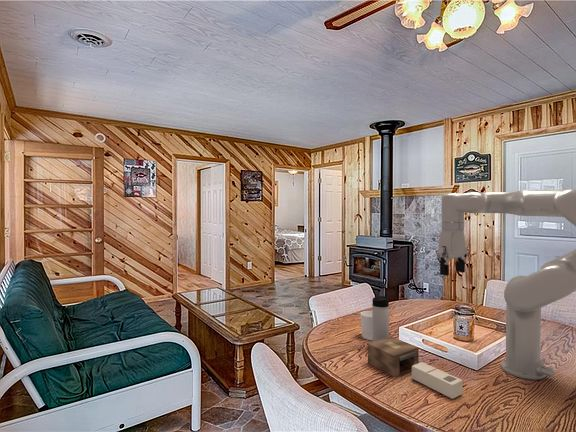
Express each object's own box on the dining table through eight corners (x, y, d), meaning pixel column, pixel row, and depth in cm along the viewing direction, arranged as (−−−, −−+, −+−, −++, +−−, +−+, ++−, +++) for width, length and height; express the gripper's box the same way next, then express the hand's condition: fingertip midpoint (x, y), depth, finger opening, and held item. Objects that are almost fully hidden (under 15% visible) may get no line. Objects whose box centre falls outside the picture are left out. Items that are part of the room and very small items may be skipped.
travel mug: (390, 351, 132) (390, 299, 131) (372, 350, 133) (372, 298, 133) (389, 344, 138) (389, 295, 137) (372, 343, 139) (372, 294, 139)
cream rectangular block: (462, 393, 101) (462, 379, 101) (452, 398, 98) (452, 384, 98) (421, 374, 113) (421, 361, 113) (411, 378, 110) (411, 365, 110)
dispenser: (420, 368, 118) (420, 347, 117) (396, 378, 111) (395, 356, 111) (391, 355, 129) (391, 336, 128) (367, 363, 122) (367, 343, 122)
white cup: (359, 339, 144) (358, 315, 144) (362, 332, 151) (362, 310, 151) (378, 341, 141) (378, 317, 141) (380, 335, 148) (380, 312, 148)
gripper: (457, 225, 134) (457, 269, 135) (428, 227, 125) (428, 274, 126) (476, 226, 128) (476, 272, 129) (447, 228, 119) (447, 278, 120)
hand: (452, 273), depth 127 cm, fingers open, 9 cm apart
